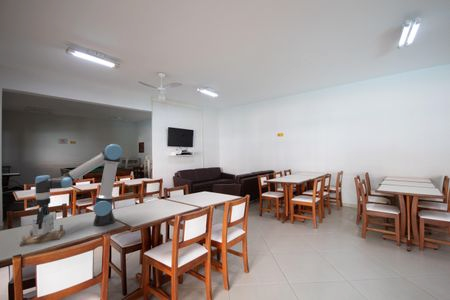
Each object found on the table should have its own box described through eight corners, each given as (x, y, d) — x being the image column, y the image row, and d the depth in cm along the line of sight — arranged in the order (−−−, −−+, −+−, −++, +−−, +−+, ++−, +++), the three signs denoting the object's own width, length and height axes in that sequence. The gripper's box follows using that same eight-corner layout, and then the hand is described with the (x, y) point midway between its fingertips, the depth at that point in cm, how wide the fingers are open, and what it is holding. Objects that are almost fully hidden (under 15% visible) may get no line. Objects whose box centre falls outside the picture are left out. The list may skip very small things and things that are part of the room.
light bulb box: (43, 229, 145) (43, 214, 145) (54, 228, 146) (54, 213, 146) (32, 235, 134) (31, 219, 134) (43, 235, 136) (43, 218, 135)
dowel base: (64, 231, 152) (64, 224, 152) (59, 239, 138) (59, 231, 138) (28, 237, 142) (28, 229, 142) (19, 246, 129) (19, 237, 129)
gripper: (41, 195, 149) (42, 225, 149) (29, 203, 128) (29, 238, 128) (54, 194, 152) (55, 223, 153) (44, 201, 131) (45, 235, 131)
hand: (43, 230), depth 140 cm, fingers closed on light bulb box, 12 cm apart
